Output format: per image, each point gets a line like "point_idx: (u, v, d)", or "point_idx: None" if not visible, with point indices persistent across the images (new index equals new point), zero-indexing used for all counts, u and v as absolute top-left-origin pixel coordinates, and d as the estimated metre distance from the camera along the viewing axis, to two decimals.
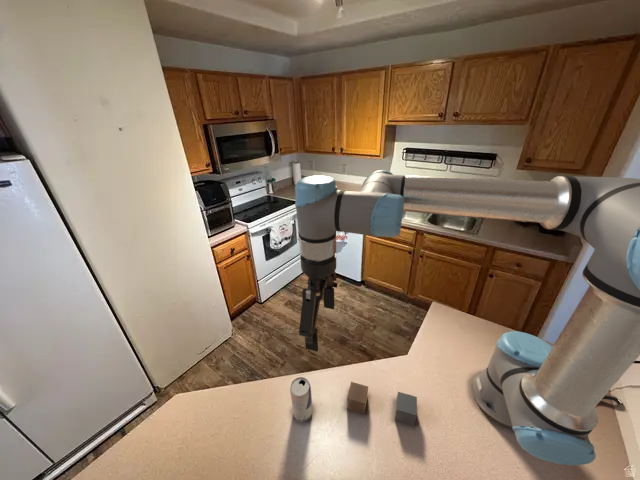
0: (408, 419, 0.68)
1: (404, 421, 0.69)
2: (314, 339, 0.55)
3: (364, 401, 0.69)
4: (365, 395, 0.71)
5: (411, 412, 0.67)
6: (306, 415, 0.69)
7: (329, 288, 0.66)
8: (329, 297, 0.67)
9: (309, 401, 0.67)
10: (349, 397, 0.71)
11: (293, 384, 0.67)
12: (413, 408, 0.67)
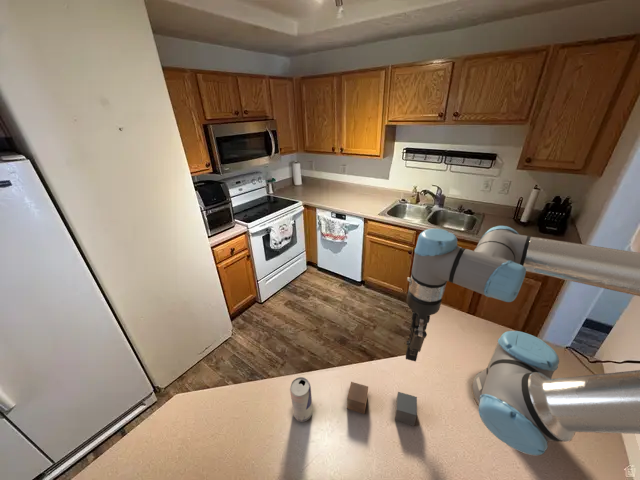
0: (408, 419, 0.68)
1: (404, 421, 0.69)
2: (416, 352, 0.69)
3: (364, 401, 0.69)
4: (365, 395, 0.71)
5: (411, 412, 0.67)
6: (306, 415, 0.69)
7: None
8: None
9: (309, 401, 0.67)
10: (349, 397, 0.71)
11: (293, 384, 0.67)
12: (413, 408, 0.67)
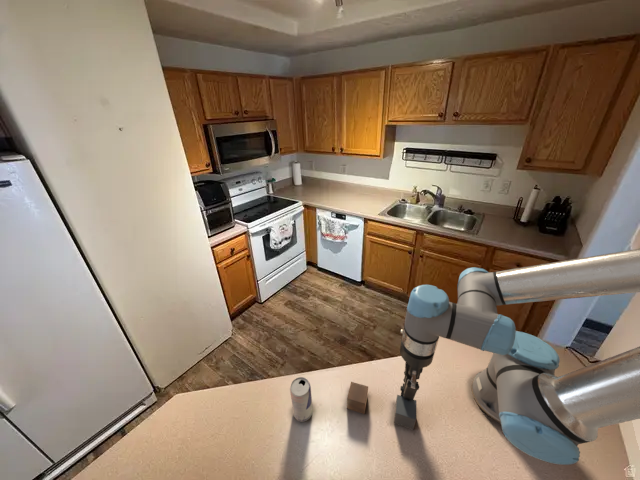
0: (407, 423, 0.67)
1: (403, 425, 0.68)
2: None
3: (364, 401, 0.69)
4: (365, 395, 0.71)
5: (411, 416, 0.66)
6: (306, 415, 0.69)
7: None
8: None
9: (309, 401, 0.67)
10: (349, 397, 0.71)
11: (293, 384, 0.67)
12: (412, 412, 0.67)
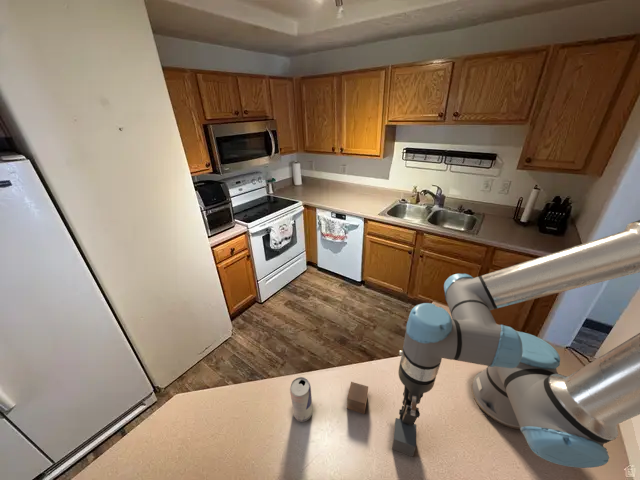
0: (406, 450, 0.62)
1: (402, 451, 0.63)
2: None
3: (364, 401, 0.69)
4: (365, 395, 0.71)
5: (410, 443, 0.61)
6: (306, 415, 0.69)
7: None
8: None
9: (309, 401, 0.67)
10: (349, 397, 0.71)
11: (293, 384, 0.67)
12: (412, 438, 0.62)
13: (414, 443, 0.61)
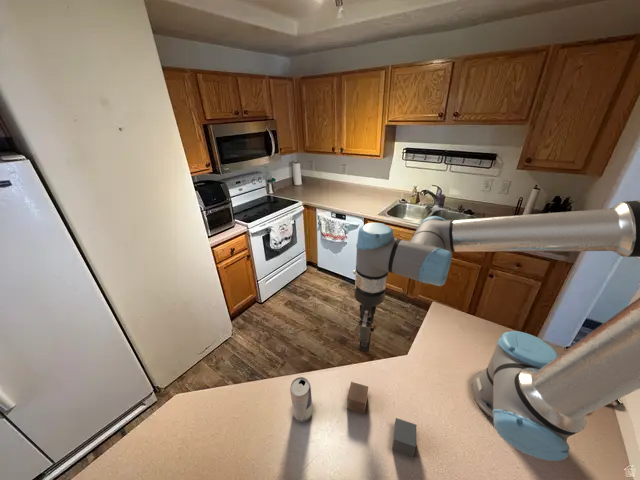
0: (406, 450, 0.62)
1: (402, 451, 0.63)
2: (368, 343, 0.71)
3: (364, 401, 0.69)
4: (365, 395, 0.71)
5: (410, 443, 0.61)
6: (306, 415, 0.69)
7: None
8: None
9: (309, 401, 0.67)
10: (349, 397, 0.71)
11: (292, 384, 0.67)
12: (412, 438, 0.62)
13: (414, 443, 0.61)
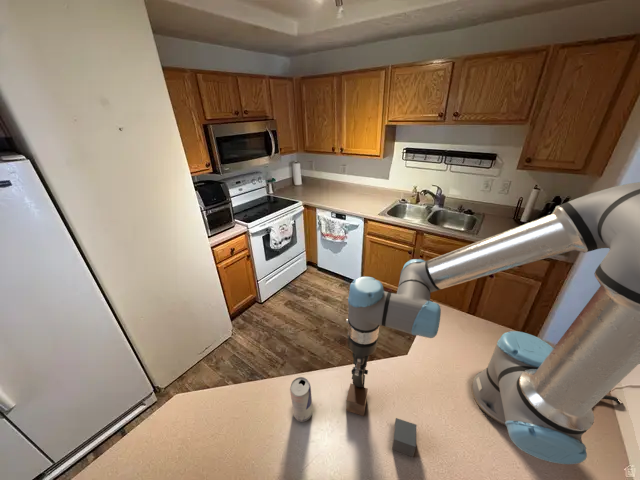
0: (406, 450, 0.62)
1: (402, 451, 0.63)
2: None
3: (363, 403, 0.69)
4: (364, 397, 0.70)
5: (410, 443, 0.61)
6: (306, 415, 0.69)
7: None
8: None
9: (309, 401, 0.67)
10: (348, 399, 0.70)
11: (292, 384, 0.67)
12: (412, 438, 0.62)
13: (414, 443, 0.61)
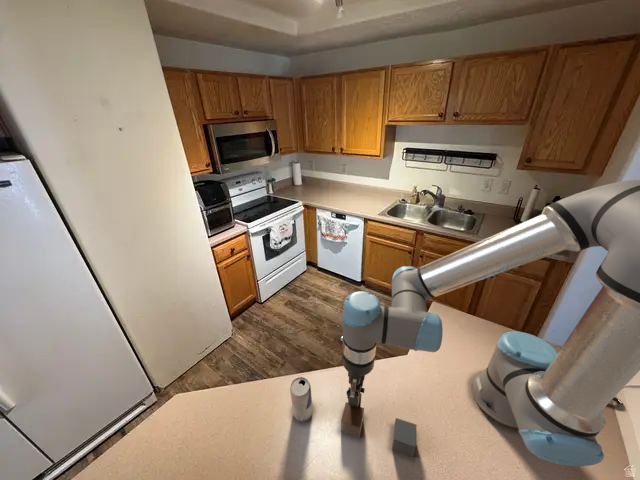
0: (406, 450, 0.62)
1: (402, 451, 0.63)
2: (358, 404, 0.68)
3: (359, 425, 0.64)
4: (360, 418, 0.66)
5: (410, 443, 0.61)
6: (306, 415, 0.69)
7: None
8: None
9: (309, 401, 0.67)
10: (343, 420, 0.66)
11: (292, 384, 0.67)
12: (412, 438, 0.62)
13: (414, 443, 0.61)
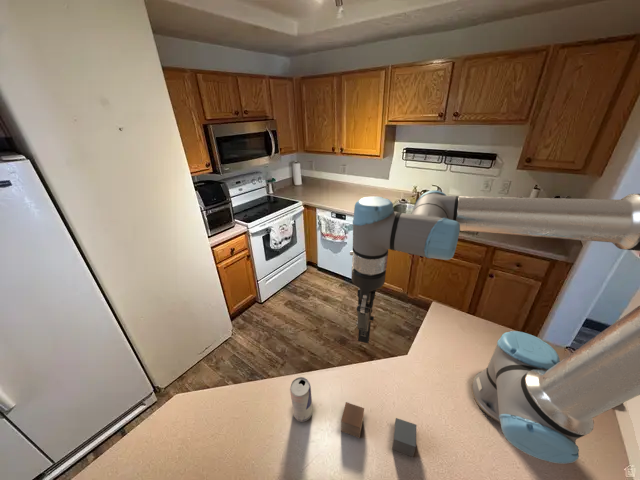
0: (406, 450, 0.62)
1: (402, 451, 0.63)
2: (367, 333, 0.66)
3: (359, 425, 0.64)
4: (360, 418, 0.66)
5: (410, 443, 0.61)
6: (306, 415, 0.69)
7: None
8: None
9: (309, 401, 0.67)
10: (343, 420, 0.66)
11: (292, 384, 0.67)
12: (412, 438, 0.62)
13: (414, 443, 0.61)
